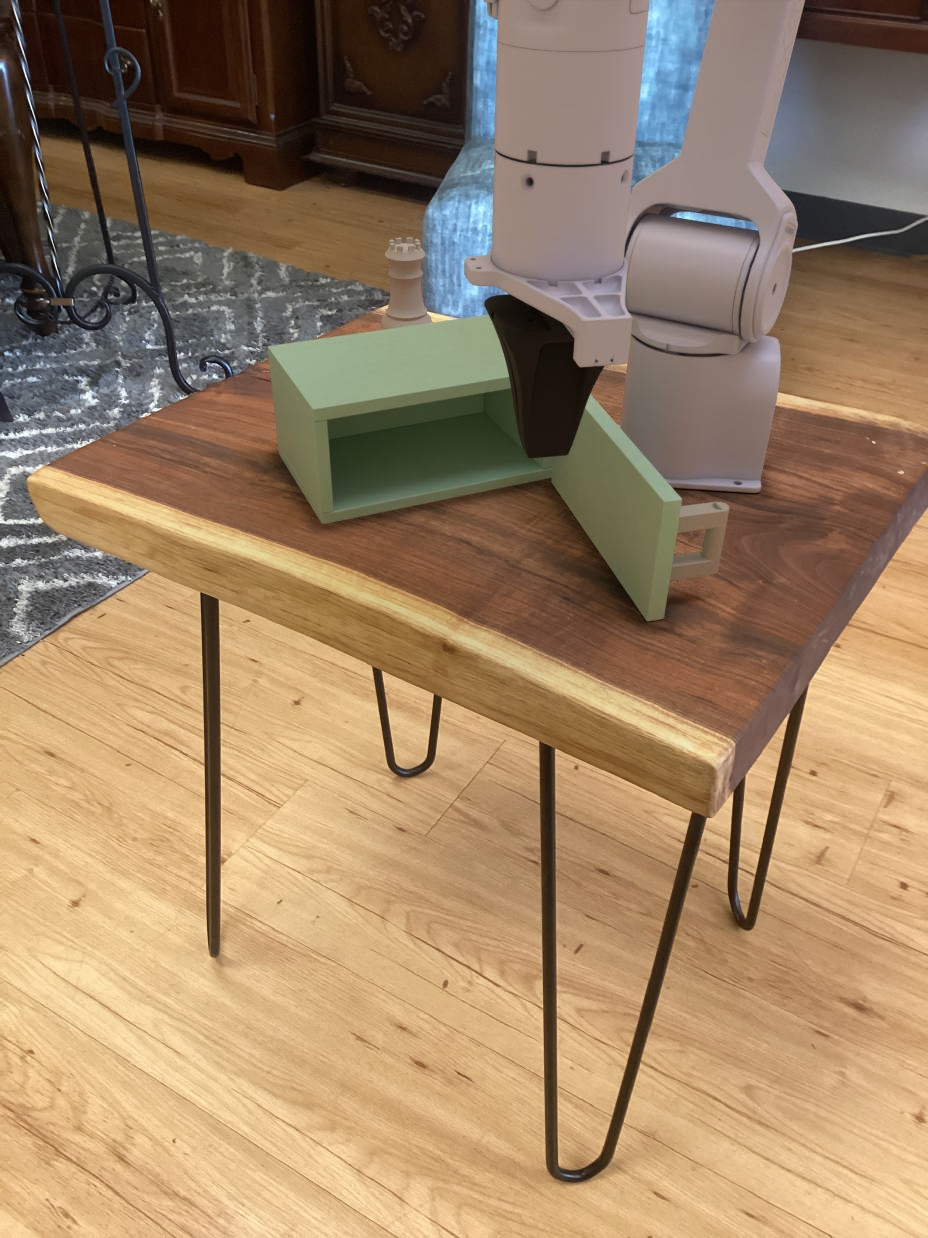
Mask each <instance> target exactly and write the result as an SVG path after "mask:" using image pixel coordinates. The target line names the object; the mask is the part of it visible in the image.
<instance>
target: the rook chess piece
mask: <svg viewBox="0 0 928 1238" xmlns="http://www.w3.org/2000/svg"><path fill="white" fill-rule="evenodd" d="M384 257H385V258H386V260H387V261H388V262H389V264H390V270H389V271H388V272H387V274H388V277H390V292H389V301H388V304H387V305H388V306H387V308H385V314H384V315H383V316H382V317H381V321H380V327H381V328H382V330H385V329H392V328H398V327H405V326H412V325H419V324H426V323H433V320H432V316H431V315H430V314H429V313H428V308H427V307H426V306H425V303H424V298H423V293H422V280H421V278H422V277H423V275H424V271H423V270H422V269H421V263H422V261H424V259H425V257H426V252H425V250H424V249H423V248H422V243H421V240H420V239H418V238H416V239H414V238H413V237H410V236H409V237H406V242H403V238H402V237H395V238H394V239H390V240H389V241H388V248H387V250H386V251H385V253H384Z"/></svg>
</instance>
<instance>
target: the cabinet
mask: <svg viewBox="0 0 928 1238" xmlns="http://www.w3.org/2000/svg"><path fill="white" fill-rule="evenodd" d="M267 355H268V356H267V357H268V364H269V374H270V380H271V381H270V382H271V383H270V384H271V391H272V402H273V403H272V404H273V410H274V411H273V412H274V420H275V430H276V439H277V450H278V455H279V457H280V458H281V460H282V462H283V463H284V465H285V466H286V468H287V469H288V471H289V473H290V474H291V476H292V478H293V479H294V481H295V482H296V485H297V486H298V487H299V489H300V490H301V493H302V494H303V495H304V497H305V500H306V501H307V502H308V503H309V504H308V505H310V507H311V508H312V510H313V511H314V514H315V515H316V517H317V519H318V520H319V521H320V523H321V525H326V524H331V523H336V522H340V521H341V522H342V521H347V520H351V519H356V518H360V517H365V516H370V515H375V514H381V513H385V512H390V511H395V510H400V509H405V508H411V507H416V506H419V505H424V504H429V503H435V502H439V501H443V500H448V499H454V498H459V497H464V496H468V495H469V496H470V495H474V494H478V493H484V492H488V491H492V490H498V489H502V488H508V487H513V486H519V485H523V484H528V483H531V482H537V481H541V480H546V479H552V467H553V457H542V458H528V456H527V454H526V452H525V451H524V449H523V447H522V444H521V441H520V437H519V433H518V428H517V423H516V417H515V410H514V404H513V397H512V391H511V385H510V379H509V374H508V369H507V365H506V361H505V357H504V354H503V350H502V347H501V344H500V341H499V338H498V335H497V333H496V330H495V328H494V325H493V323H492V321H491V319H490V317H489V314H483V315H476V316H469V317H462V318H456V319H455V318H454V319H448V320H441V321H435V322H434V321H432V323H426V324H419V325H412V326H405V327H398V328H392V329H385V330H384V329H379V330H372V331H365V332H358V333H351V334H343V335H336V336H330V337H321V338H317V339H309V340H302V341H295V342H288V343H280V344H275V345H268V346H267Z"/></svg>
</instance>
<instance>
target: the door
mask: <svg viewBox="0 0 928 1238" xmlns="http://www.w3.org/2000/svg"><path fill="white" fill-rule="evenodd" d="M618 425H619V424H618V423H616V422H615V420H614V419H613V418H612V417H611V416H610V414H609V413H608V412H607V411H606V409H604V408H603V406H602V405H601V404H600V403H599V402H598V401H597V400H596V399H595V397H594V396H593V395H592V394H590V396H589V399H588V401H587V404H586V407H585V410H584V413H583V416H582V419H581V422H580V425H579V428H578V431H577V434H576V436H575V439H574V442H573V444H572V447H571V449H570V452H569V454H568V455H565V456H554V457H553V467H552V478H551V485H553V487H554V488H555V490H556V492H557V493H558V495H559V496H560V497H561V499H562V500H563V502H564V503H565V505H566V506H567V507H568V509H569V510H570V512H571V513H572V515H573V516H574V518H575V519H576V521H577V522H578V523H579V525H580V526H581V528H582V529H583V531H584V532H585V533H586V535H587V537H588V538H589V539H590V541H591V542H592V544H593V546H594V547H595V548H596V550H597V551H598V553H599V554H600V555H601V557H602V559H603V560H604V561H605V563H606V564H607V566H608V567H609V569H610V570H611V571H612V573H613V575H614V576H615V577H616V579H617V580H618V582H619V583H620V585H621V586H622V588H623V589H624V590H625V592H626V594H627V595H628V596H629V598H630V599H631V601H632V602H633V604H634V605H635V606H636V608H637V609H638V611H639V612H640V614H641V615H642V617H643V618H644V619H645V621H646V622H653V621H660V620H664V619H665V613H666V607H667V601H668V594H669V589H670V588H669V587H670V582H674V581H676V582H677V581H682V580H683V581H684V580H688V579H697V578H702V577H708V576H714V575H716V574H717V573H718V572H719V568H720V563H721V557H722V551H723V545H724V541H725V537H726V536H725V535H726V529H727V524H728V519H729V514H730V506H729V505H728V504H727V503H725V502H723V501H709V502H702V503H695V504H686V505H682V503H683V498H682V497H681V496H680V495H679V493H677V491H676V490H675V488H672V487H671V486H670V485H669V483H668V482H667V481H666V480H665V479H664V478H663V477H662V475H661V474H660V473H659V472H658V471H657V470H656V469H655V467H654V466H653V465H652V464H651V463H650V462H649V461H648V459H647V458H646V457H645V456H644V455H643V454H642V452H641V451H640V450H639V449H638V448H637V447H636V446H635V444H634V443H633V442H632V441H631V440H630V439H629V438H628V436H627V435H626V434H625V433H624V432H623V431H622V430H621V428H620V427H619V426H618ZM703 530H704V537H703V543H702V548H701V551H696V552H690V553H688V552H687V553H682V554H675V550H676V542H677V538H678V537H677V536H678V534H681V533H688V532H696V531H697V532H698V531H703Z"/></svg>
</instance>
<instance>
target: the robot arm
mask: <svg viewBox="0 0 928 1238" xmlns="http://www.w3.org/2000/svg"><path fill="white" fill-rule="evenodd" d="M650 2H651V1H650V0H483V3H486V12H487V15H488V16H489V18H493V20H496V21H497V24H496V25H497V26H496V27H497V30H496V61H495V62H496V66H495V69H496V70H495V74H496V75H495V103H494V104H495V107H494V108H495V109H494V143H493V145H494V146H493V147H494V149H493V182H492V183H493V187H492V220H491V221H492V222H491V223H492V225H491V226H492V227H491V233H492V234H491V247H490V250H489V252H488V254H485V255H474V256H468V257H466V258H465V259H464V260H463V273H464V277H465V278H466V279H467V282H468V283H469V284H470V285H472V286H475V287H495V288H498V289H499V290H501V291H503V292H505V293H506V294H498V295H497V294H496V295H492V296H489V297H487V298H486V299H485V300H484V302H483V305H484V308H485V310H486V313H487V315H489V317H490V319H491V321H492V323H493V325H494V328H495V330H496V333H497V335H498V338H499V341H500V344H501V347H502V350H503V354H504V357H505V361H506V365H507V369H508V374H509V379H510V385H511V391H512V397H513V404H514V410H515V417H516V423H517V428H518V433H519V437H520V441H521V444H522V447H523V449H524V451H525V452H526V454H527V456H528V458H542V457H554V456H565V455H568V454H569V452H570V449H571V447H572V444H573V442H574V439H575V436H576V434H577V431H578V428H579V425H580V422H581V419H582V416H583V413H584V410H585V407H586V404H587V401H588V399H589V396H590V394H591V393H592V391H593V389H594V387H595V385H596V383H597V380H598V379H599V377H600V375H601V373H602V372H603V370H604V369H605V368H606V367H605V366H607V367H608V366H619V365H620V366H621V365H626V371H625V378H624V379H625V381H624V389H623V398H622V409H621V417H620V424H617V425H618V426H619V427H620V428H621V430H622V431H623V432H624V433H625V434H626V435H627V436H628V438H629V439H630V440H631V441H632V442H633V443H634V444H635V446H636V447H637V448H638V449H639V450H640V451H641V452H642V454H643V455H644V456H645V457H646V458H647V459H648V461H649V462H650V463H651V464H652V465H653V466H654V467H655V469H656V470H657V471H658V472H659V473H660V474H661V475H662V477H663V478H664V479H665V480H666V481H667V482H668V483H669V485H670V486H671V487H672V488H673V489H686V490H701V491H715V492H716V491H717V492H718V491H719V492H730V493H731V492H732V493H745V494H746V493H747V494H749V493H750V494H756V493H757V494H758V493H760V492H761V489H762V481H761V479H762V474H763V469H764V464H765V461H766V455H767V451H768V445H769V441H770V435H771V431H772V425H773V422H774V421H773V420H774V415H775V410H776V405H777V401H778V394H779V387H780V381H781V380H780V377H781V366H782V365H781V364H782V356H781V355H782V354H781V345H780V341H779V339H778V338H777V337H775V336H770V335H767V334H769V333H770V331H771V330H772V329H773V327H774V325H775V323H776V321H777V319H778V317H779V316H780V315H779V314H780V312H781V310H782V307H783V304H784V301H785V298H786V294H787V290H788V286H789V281H790V278H791V271H792V264H793V249H794V245H795V240H796V236H797V231H798V227H799V223H798V216H797V212H796V208H795V205H794V203H793V202H792V201H791V199H790V198H789V197H788V196H787V194H786V193H785V192H784V191H783V189H782V188H781V187H780V186H779V185H778V184H777V183H776V182H775V180H774V179H773V178H772V177H771V175H770V174H769V173H768V171H767V170H766V169H765V166H764V165H765V162H766V161H765V160H766V157H767V153H768V148H769V144H770V141H771V137H772V133H773V132H772V131H773V128H774V125H775V120H776V116H777V112H778V109H779V105H780V102H781V97H782V93H783V89H784V85H785V83H786V77H787V73H788V69H789V66H790V62H791V57H792V53H793V49H794V45H795V41H796V38H797V33H798V30H799V26H800V22H801V18H802V14H803V10H804V6H805V2H806V0H714V3H713V7H712V11H711V12H712V13H711V17H710V22H709V24H708V25H709V26H708V30H707V34H706V40H705V43H704V48H703V52H702V57H701V61H700V65H699V70H698V75H697V79H696V83H695V87H694V92H693V96H692V101H691V105H690V109H689V110H690V111H689V113H688V118H687V122H686V127H685V133H684V136H683V141H682V145H681V149H680V153H679V154H678V155H677V156H676V157H675V158H673V159H672V160H671V161H669V162H667V163H666V164H665V165H663V166H661V167H660V168H658V169H657V170H655V171H654V172H652V173H651V174H649V175H647V176H646V177H644V178H643V179H641V180H640V181H638V182H636V183H635V185H633V187H632V182H633V181H632V180H633V172H634V161H635V151H636V140H637V132H638V131H637V130H638V119H639V111H640V109H639V108H640V99H641V90H642V80H643V71H644V61H645V60H644V59H645V52H646V51H645V50H646V40H647V31H648V20H649V11H650ZM678 213H694V214H695V213H696V214H700V215H706V216H714V217H720V218H726V219H731V220H739V221H744V222H751V223H753V224H754V226H755V227H756V229H757V230H756V229H752V228H746V227H739V226H732V225H727V224H720V223H714V222H707V221H702V220H695V219H690V218H684V217H677V216H673V215H676V214H678ZM591 395H592V394H591Z"/></svg>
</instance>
